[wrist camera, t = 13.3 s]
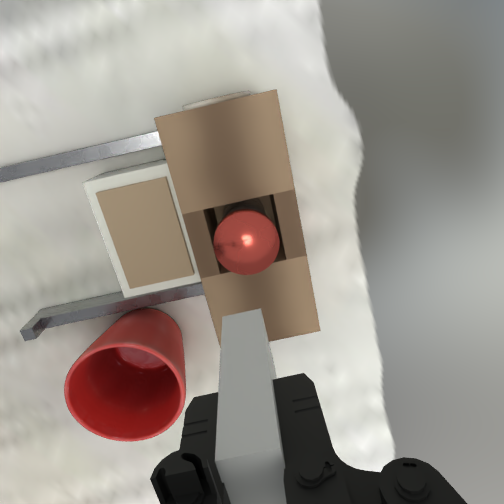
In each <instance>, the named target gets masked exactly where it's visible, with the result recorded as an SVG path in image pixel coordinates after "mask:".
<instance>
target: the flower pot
mask: <svg viewBox="0 0 504 504" xmlns="http://www.w3.org/2000/svg"><path fill="white" fill-rule="evenodd" d="M64 394H65V400H66V404H67V406H68V409H69V411H70V413H71V414H72V416H73V417H74V418H75V419H76V420H77V421H78V422H79V423H80V424H81V425H82V426H83V427H84V428H86V429H87V430H89V431H91V432H92V433H94V434H96V435H99V436H101V437H104V438H107V439H111V440H116V441H140V440H145V439H149V438H152V437H155V436H157V435H159V434H161V433H162V432H164V431H165V430H167V429H168V428H169V427H170V426H171V425H172V424H173V423H174V422H175V421H176V420H177V419H178V417H179V416H180V414H181V412H182V410H183V407H184V404H185V398H186V379H185V361H184V350H183V342H182V335H181V331H180V329H179V327H178V325H177V324H176V323H175V321H174V320H173V319H172V318H171V317H169V316H168V315H167V314H165V313H163V312H161V311H158V310H155V309H149V308H142V309H136V310H132V311H130V312H128V313H126V314H125V315H123V316H122V317H121V318H120V319H118V320H117V321H116V322H115V323H114V324H113V325H112V326H111V327H110V328H109V329H108V330H106V331H105V332H104V333H103V334H102V335H101V336H100V337H99V338H98V339H97V340H96V341H95V342H94V343H93V344H92V345H91V346H90V347H89V348H88V349H87V350H86V351H85V352H84V353H83V354H82V355H81V356H80V357H79V358H78V359H77V360H76V361H75V363H74V364H73V365H72V367H71V368H70V370H69V372H68V374H67V377H66V380H65V386H64Z"/></svg>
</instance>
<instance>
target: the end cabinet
mask: <svg viewBox="0 0 504 504" xmlns="http://www.w3.org/2000/svg"><path fill="white" fill-rule="evenodd" d="M183 110H184V111H182V112H177V113H173V114H169V115H165V116H160V117H156V118H154V120H155V123H156V127H157V130H158V133H159V137H160V140H161V144H162V147H163V151H164V154H165V158H166V161H167V165H168V168H169V172H170V175H171V178H172V182H173V185H174V189H175V192H176V196H177V199H178V203H179V206H180V210H181V213H182V217H183V220H184V223H185V227H186V230H187V234H188V237H189V241H190V244H191V248H192V251H193V255H194V258H195V262H196V265H197V268H198V272H199V275H200V279H201V282H202V286H203V289H204V293H205V296H206V300H207V303H208V307H209V310H210V313H211V317H212V320H213V324H214V327H215V331H216V334H217V338H218V341H219V345H220V348H221V334H222V317H224V316H228V315H233V314H237V313H242V312H247V311H251V310H256V309H260V308H261V311H262V315H263V320H264V324H265V328H266V332H267V336H268V341H269V342H270V341H275V340H279V339H284V338H289V337H294V336H298V335H303V334H308V333H313V332H317V331H320V326H319V320H318V315H317V309H316V304H315V298H314V293H313V287H312V282H311V276H310V271H309V265H308V260H307V254H306V249H305V243H304V238H303V232H302V227H301V221H300V216H299V210H298V205H297V199H296V194H295V188H294V183H293V177H292V172H291V166H290V161H289V155H288V150H287V144H286V139H285V134H284V128H283V123H282V117H281V112H280V106H279V101H278V95H277V90H271V91H267V92H263V93H259V94H254V95H251V94H250V91H244V92H239V93H234V94H229V95H225V96H220V97H216V98H212V99H207V100H203V101H199V102H196V103H192V104H188V105H185V106H183ZM253 198H258V199H259V200H260V201H261V203H262V204H263V206H264V209H265V213H266V216H268V217H269V218H270V219H271V221H272V222H273V223H274V225H275V227H276V229H277V232H278V236H279V241H280V246H279V251H278V254H277V257H276V258H275V260H274V262H273V263H272V264H271V265H270V266H269V267H268V268H266V269H265V270H263V271H262V272H259V273H256V274H252V275H240V274H236V273H233V272H231V271H229V270H228V269H226V268H225V267H224V266H223V265H222V264H221V263H220V262H219V261H218V259H217V257H216V255H215V252H214V245H213V242H214V235H215V231H216V228H217V226H218V224H219V223H220V221H221V220H222V218H223V210H224V207H225V205H226V204H230V203H235V202H239V201H244V200H248V199H253Z"/></svg>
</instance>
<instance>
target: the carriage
mask: <svg viewBox="0 0 504 504" xmlns="http://www.w3.org/2000/svg"><path fill="white" fill-rule="evenodd" d="M82 184H83V187H84V189H85V192H86V195H87V197H88V200H89V203H90V206H91V208H92V211H93V214H94V216H95V219H96V222H97V225H98V227H99V230H100V233H101V235H102V238H103V241H104V243H105V246H106V249H107V252H108V254H109V257H110V260H111V262H112V265H113V268H114V271H115V273H116V276H117V279H118V281H119V284H120V287H121V290H122V292H123V295H124V298H127V297H132V296H136V295H141V294H145V293H150V292H155V291H159V290H164V289H168V288H173V287H178V286H182V285H187V284H191V283H196V282H201V279H200V275H199V272H198V268H197V265H196V262H195V258H194V255H193V251H192V248H191V244H190V241H189V237H188V234H187V230H186V227H185V223H184V220H183V217H182V213H181V210H180V206H179V203H178V199H177V196H176V192H175V189H174V185H173V182H172V178H171V175H170V172H169V168H168V165H167V161H166V159H164V160H159V161H155V162H151V163H146V164H142V165H138V166H133V167H129V168H125V169H120V170H116V171H111V172H107V173H103V174H100V175H98V176H96V177H94V178H92V179H89V180H87V181H85V182H83V183H82Z"/></svg>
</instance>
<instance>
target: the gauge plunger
mask: <svg viewBox="0 0 504 504" xmlns="http://www.w3.org/2000/svg"><path fill="white" fill-rule="evenodd" d="M213 245H214V252H215V255H216V257H217V259H218V261H219V262H220V263H221V264H222V265H223V266H224V267H225V268H226V269H228V270H229V271H231V272H233V273H236V274H240V275H252V274H256V273H259V272H262V271H263V270H265V269H266V268H268V267H269V266H270V265H271V264H272V263H273V262H274V260H275V258H276V257H277V254H278V251H279V246H280V241H279V236H278V232H277V229H276V227H275V225H274V223H273V222H272V221H271V219H270V218H269V217H268V216H266V213H265V209H264V206H263V204H262V203H261V201H260V200H259V199H258V198H253V199H248V200H244V201H239V202H235V203H230V204H226V205H225V207H224V210H223V218H222V220H221V221H220V223H219V224H218V226H217V228H216V231H215V235H214V242H213Z"/></svg>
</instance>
